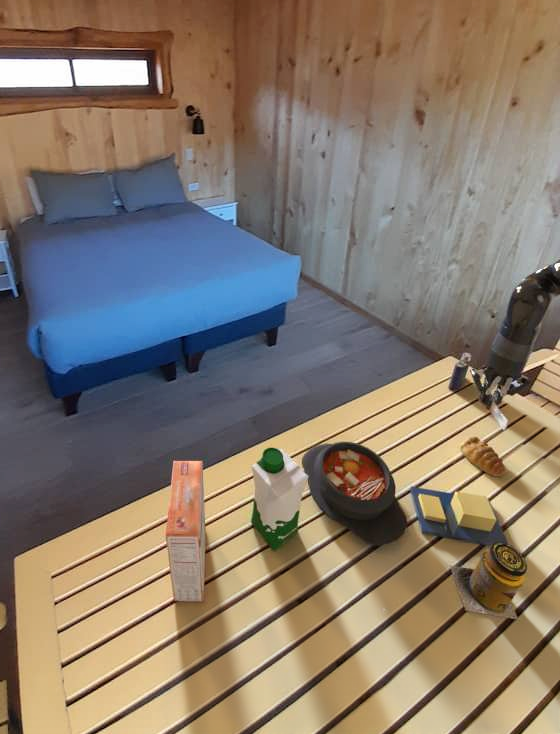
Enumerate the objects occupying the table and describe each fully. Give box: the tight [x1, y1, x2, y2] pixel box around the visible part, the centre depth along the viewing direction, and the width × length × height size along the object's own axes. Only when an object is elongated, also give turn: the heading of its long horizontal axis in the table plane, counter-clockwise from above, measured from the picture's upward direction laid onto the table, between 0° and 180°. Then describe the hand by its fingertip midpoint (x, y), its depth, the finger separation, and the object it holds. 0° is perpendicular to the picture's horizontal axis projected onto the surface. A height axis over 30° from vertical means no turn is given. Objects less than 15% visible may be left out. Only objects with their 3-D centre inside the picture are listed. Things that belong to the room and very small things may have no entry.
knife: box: [477, 391, 510, 432], centre depth 103 cm, size 13×2×3 cm, turn 168°
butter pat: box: [418, 494, 446, 523], centre depth 86 cm, size 1×5×4 cm
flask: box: [447, 352, 473, 392], centre depth 120 cm, size 9×3×11 cm, turn 133°
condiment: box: [449, 541, 528, 620], centre depth 71 cm, size 7×8×12 cm
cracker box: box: [165, 460, 206, 603], centre depth 75 cm, size 14×6×21 cm, turn 178°
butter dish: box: [409, 486, 509, 547], centre depth 85 cm, size 16×10×5 cm, turn 78°
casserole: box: [301, 441, 409, 546], centre depth 89 cm, size 25×19×8 cm
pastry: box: [459, 435, 506, 477], centre depth 97 cm, size 9×7×4 cm
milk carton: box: [250, 447, 308, 552], centre depth 80 cm, size 9×9×20 cm
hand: (488, 402), depth 106 cm, fingers closed on knife, 2 cm apart
